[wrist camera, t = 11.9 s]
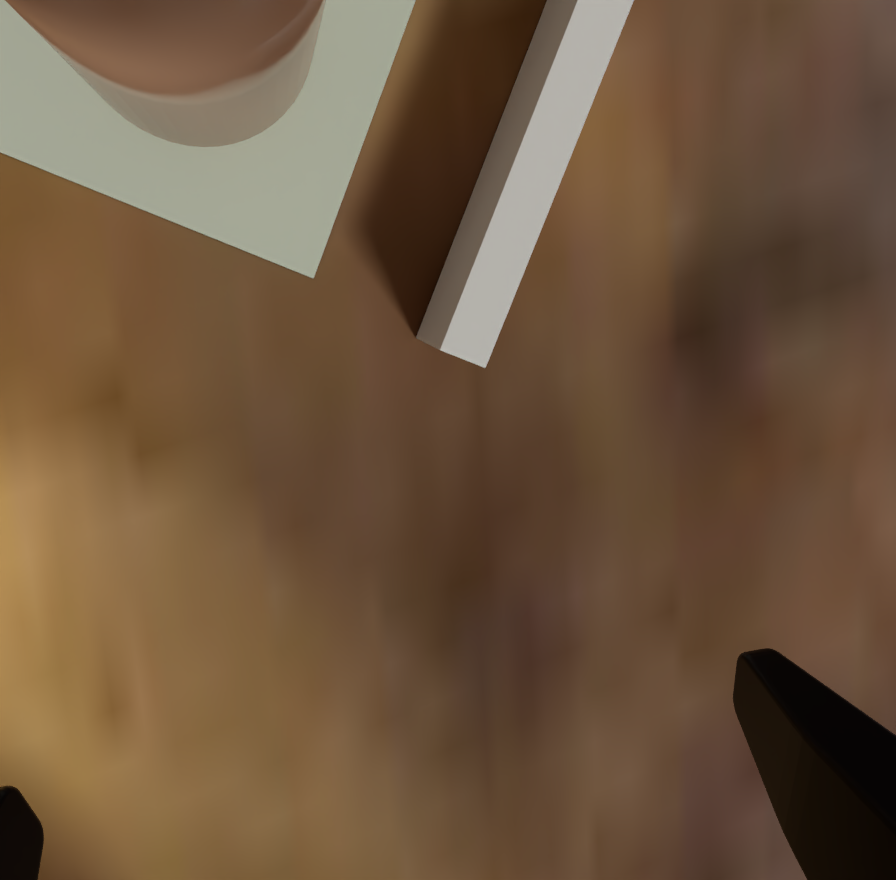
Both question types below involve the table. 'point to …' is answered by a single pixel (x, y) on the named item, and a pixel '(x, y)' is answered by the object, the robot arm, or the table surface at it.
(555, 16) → the low wall
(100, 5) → the tan round cylinder
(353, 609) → the table surface
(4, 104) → the tile
